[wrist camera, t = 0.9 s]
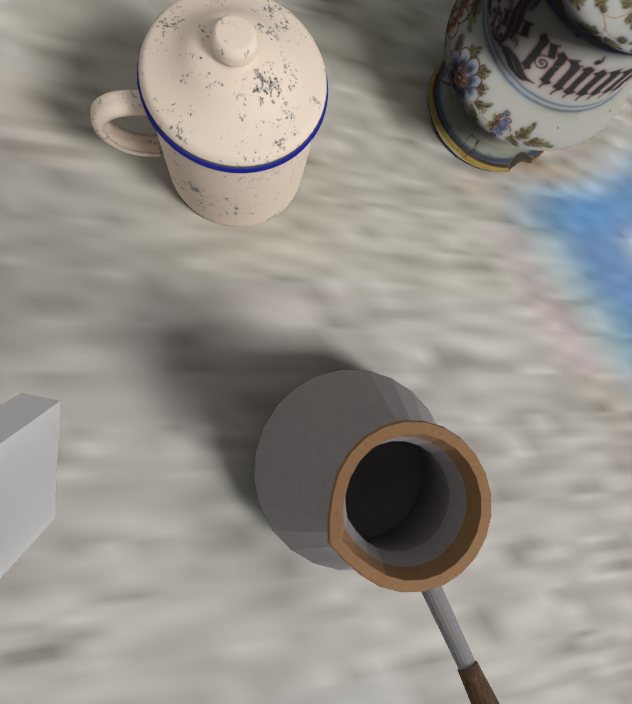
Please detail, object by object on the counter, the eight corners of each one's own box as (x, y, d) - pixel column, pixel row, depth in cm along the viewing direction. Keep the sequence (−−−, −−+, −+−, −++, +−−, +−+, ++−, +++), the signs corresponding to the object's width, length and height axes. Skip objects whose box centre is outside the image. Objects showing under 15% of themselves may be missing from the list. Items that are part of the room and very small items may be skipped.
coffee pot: (226, 409, 30) (213, 421, 15) (391, 347, 32) (520, 304, 17) (346, 737, 29) (455, 1083, 15) (506, 652, 31) (744, 879, 17)
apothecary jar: (465, 215, 34) (715, 14, 16) (382, 65, 34) (540, -299, 16) (595, 146, 36) (940, -97, 18) (517, 6, 36) (785, -371, 18)
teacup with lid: (297, 98, 33) (328, -65, 21) (312, 228, 32) (353, 133, 20) (111, 101, 31) (34, -77, 19) (124, 239, 30) (51, 142, 18)
